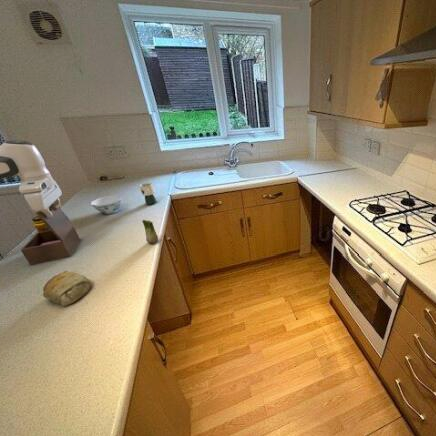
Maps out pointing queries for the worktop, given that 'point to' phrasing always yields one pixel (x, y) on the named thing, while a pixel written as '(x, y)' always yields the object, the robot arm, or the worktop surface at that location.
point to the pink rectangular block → (51, 242)
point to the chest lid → (57, 221)
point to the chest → (50, 246)
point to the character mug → (148, 193)
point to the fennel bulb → (150, 232)
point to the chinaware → (107, 204)
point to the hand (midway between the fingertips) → (54, 212)
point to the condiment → (40, 224)
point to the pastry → (66, 288)
